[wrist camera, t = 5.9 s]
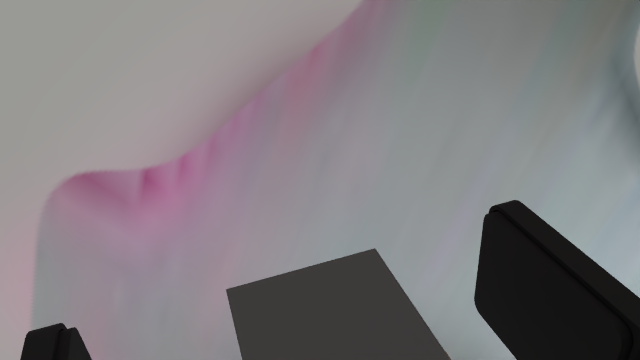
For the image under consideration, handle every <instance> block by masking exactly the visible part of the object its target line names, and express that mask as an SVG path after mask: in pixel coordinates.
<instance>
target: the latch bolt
mask: <svg viewBox="0 0 640 360" xmlns="http://www.w3.org/2000/svg"><path fill="white" fill-rule="evenodd" d="M226 292H227V296H228V300H229V304H230V309H231V313H232V317H233V321H234V326H235V330H236V334H237V339H238V343H239V347H240V351H241V356H242V360H450V358H449V357H448V355H447V354H446V352H445V351H444V350H443V348H442V347H441V345H440V344H439V342H438V341H437V339H436V338H435V336H434V335H433V333H432V332H431V330H430V329H429V327H428V326H427V324H426V323H425V321H424V320H423V318H422V317H421V316H420V314H419V313H418V311H417V310H416V308H415V307H414V305H413V304H412V302H411V301H410V299H409V298H408V296H407V295H406V293H405V292H404V290H403V289H402V287H401V286H400V284H399V283H398V282H397V280H396V279H395V277H394V276H393V274H392V273H391V271H390V270H389V268H388V267H387V265H386V264H385V262H384V261H383V259H382V258H381V256H380V255H379V253H378V252H377V250H376V249H371V250H367V251H364V252H360V253H356V254H353V255H349V256H346V257H342V258H338V259H335V260H331V261H327V262H324V263H320V264H317V265H313V266H309V267H306V268H302V269H299V270H295V271H291V272H288V273H284V274H280V275H277V276H273V277H270V278H266V279H262V280H259V281H255V282H251V283H248V284H244V285H241V286H237V287H233V288H230V289H226Z"/></svg>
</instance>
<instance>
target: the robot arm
mask: <svg viewBox="0 0 640 360" xmlns="http://www.w3.org/2000/svg"><path fill="white" fill-rule="evenodd" d="M474 301H475V305H476V308H477V310H478V312H479V314H480V315H481V316H482V317H483V319H484V320H485V321H486V322H487V324H488V325H489V326H490V327H491V328H492V330H493V331H494V332H495V333H496V335H497V336H498V337H499V338H500V339H501V341H502V342H503V343H504V344H505V346H506V347H507V348H508V349H509V350H510V352H511V353H512V354H513V355H514V357H515V358H516V359H517V360H640V298H639V297H638V296H636V295H635V294H634V293H633V292H632V291H630V290H629V289H628V288H627V287H625V286H624V285H623V284H622V283H620V282H619V281H618V280H617V279H615V278H614V277H613V276H612V275H610V274H609V273H608V272H607V271H606V270H604V269H603V268H602V267H601V266H599V265H598V264H597V263H596V262H594V261H593V260H592V259H591V258H589V257H588V256H587V255H586V254H585V253H583V252H582V251H581V250H580V249H578V248H577V247H576V246H575V245H573V244H572V243H571V242H570V241H568V240H567V239H566V238H565V237H564V236H562V235H561V234H560V233H559V232H557V231H556V230H555V229H554V228H552V227H551V226H550V225H549V224H547V223H546V222H545V221H544V220H542V219H541V218H540V217H539V216H538V215H536V214H535V213H534V212H533V211H531V210H530V209H529V208H528V207H526V206H525V205H524V204H523V203H521V202H520V201H517V200H513V201H509V202H506V203H502V204H498V205H495V206H492V207H491V208H490V210H489V214H486V215H485V217H484V222H483V231H482V239H481V247H480V255H479V264H478V272H477V280H476V288H475V297H474ZM20 360H92V359H91V357H90V355H89V353H88V351H87V349H86V347H85V344H84V342H83V340H82V338H81V336H80V334H79V332H78V330H77V329H76V328H75V327H74V328H70V329H67V328H66V327H65V325H64V324H63V323H59V324H55V325H51V326H48V327H44V328H40V329H37V330H33V331H29V332H28V333H27V335H26V338H25V342H24V346H23V350H22V355H21V359H20Z"/></svg>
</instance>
